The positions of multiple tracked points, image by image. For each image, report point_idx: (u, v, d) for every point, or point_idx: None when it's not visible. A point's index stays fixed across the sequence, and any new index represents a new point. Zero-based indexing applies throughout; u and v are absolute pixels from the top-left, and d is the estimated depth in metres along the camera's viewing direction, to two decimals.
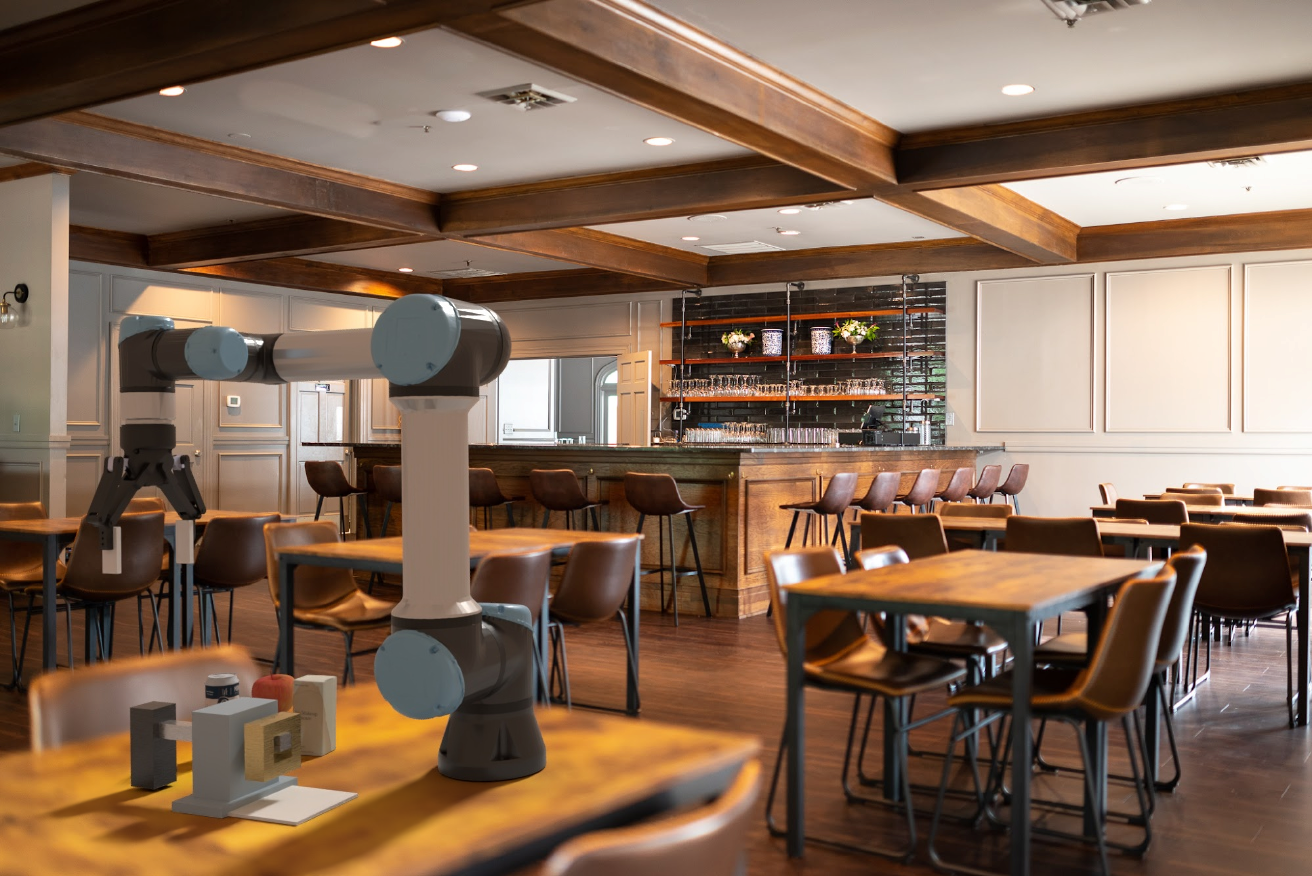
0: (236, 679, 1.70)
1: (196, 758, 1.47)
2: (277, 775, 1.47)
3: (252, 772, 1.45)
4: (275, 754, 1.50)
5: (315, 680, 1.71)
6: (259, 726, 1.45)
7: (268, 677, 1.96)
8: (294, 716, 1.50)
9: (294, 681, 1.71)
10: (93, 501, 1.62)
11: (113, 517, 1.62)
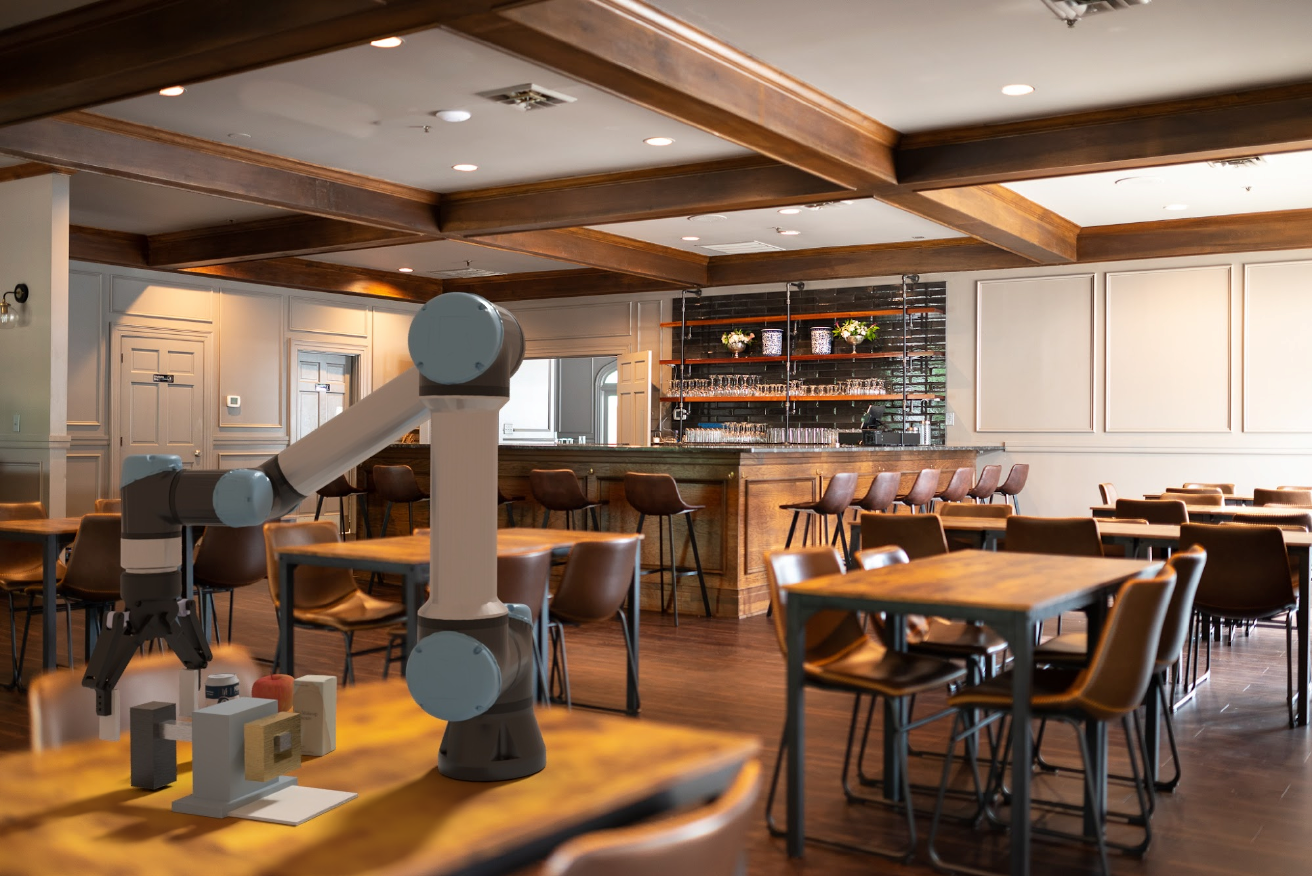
0: (236, 679, 1.70)
1: (196, 758, 1.47)
2: (277, 775, 1.47)
3: (252, 772, 1.45)
4: (275, 754, 1.50)
5: (315, 680, 1.71)
6: (259, 726, 1.45)
7: (268, 677, 1.96)
8: (294, 716, 1.50)
9: (294, 681, 1.71)
10: (90, 663, 1.48)
11: (112, 680, 1.48)
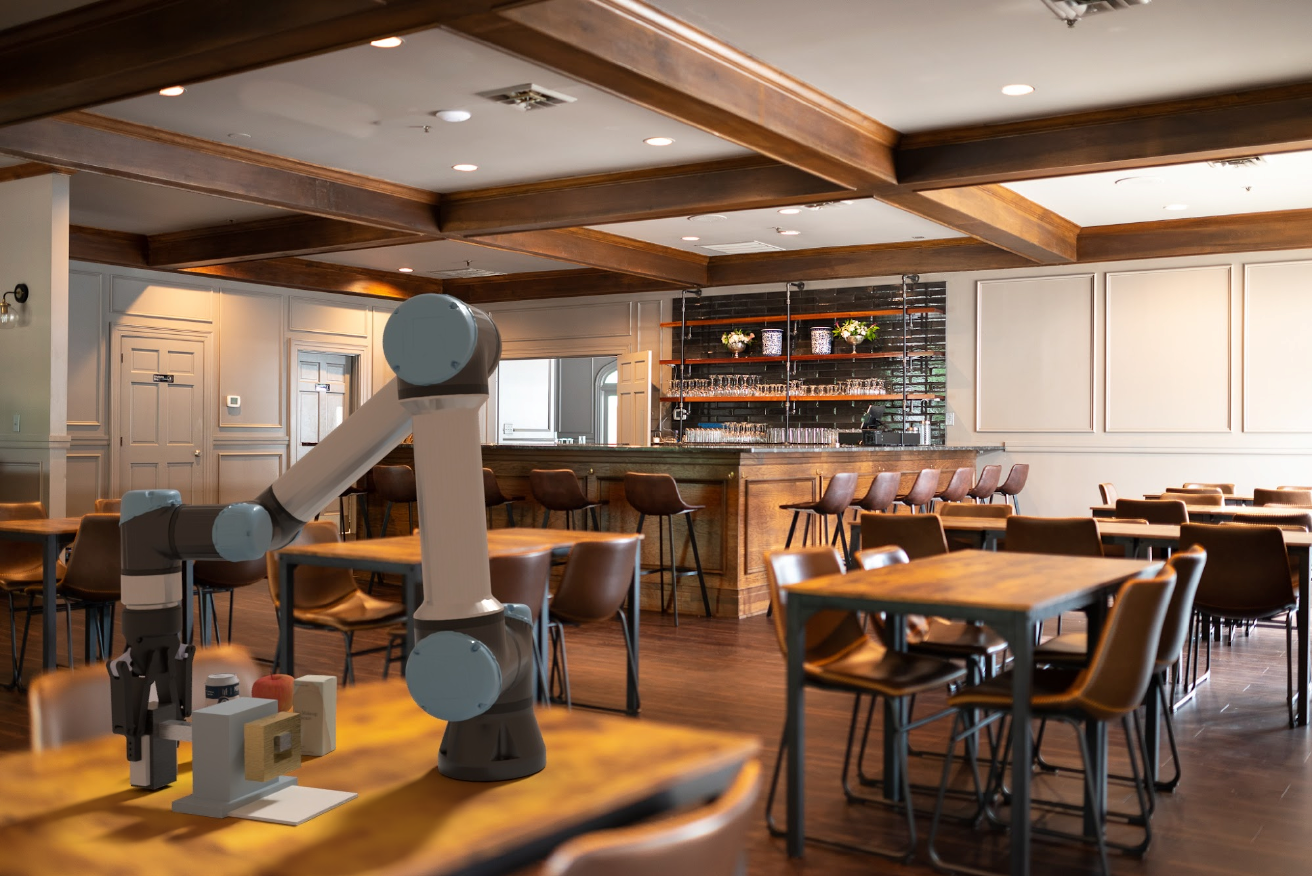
0: (236, 679, 1.70)
1: (196, 758, 1.47)
2: (277, 775, 1.47)
3: (252, 772, 1.45)
4: (275, 754, 1.50)
5: (315, 680, 1.71)
6: (259, 726, 1.45)
7: (268, 677, 1.96)
8: (294, 716, 1.50)
9: (294, 681, 1.71)
10: (113, 712, 1.51)
11: (139, 727, 1.52)
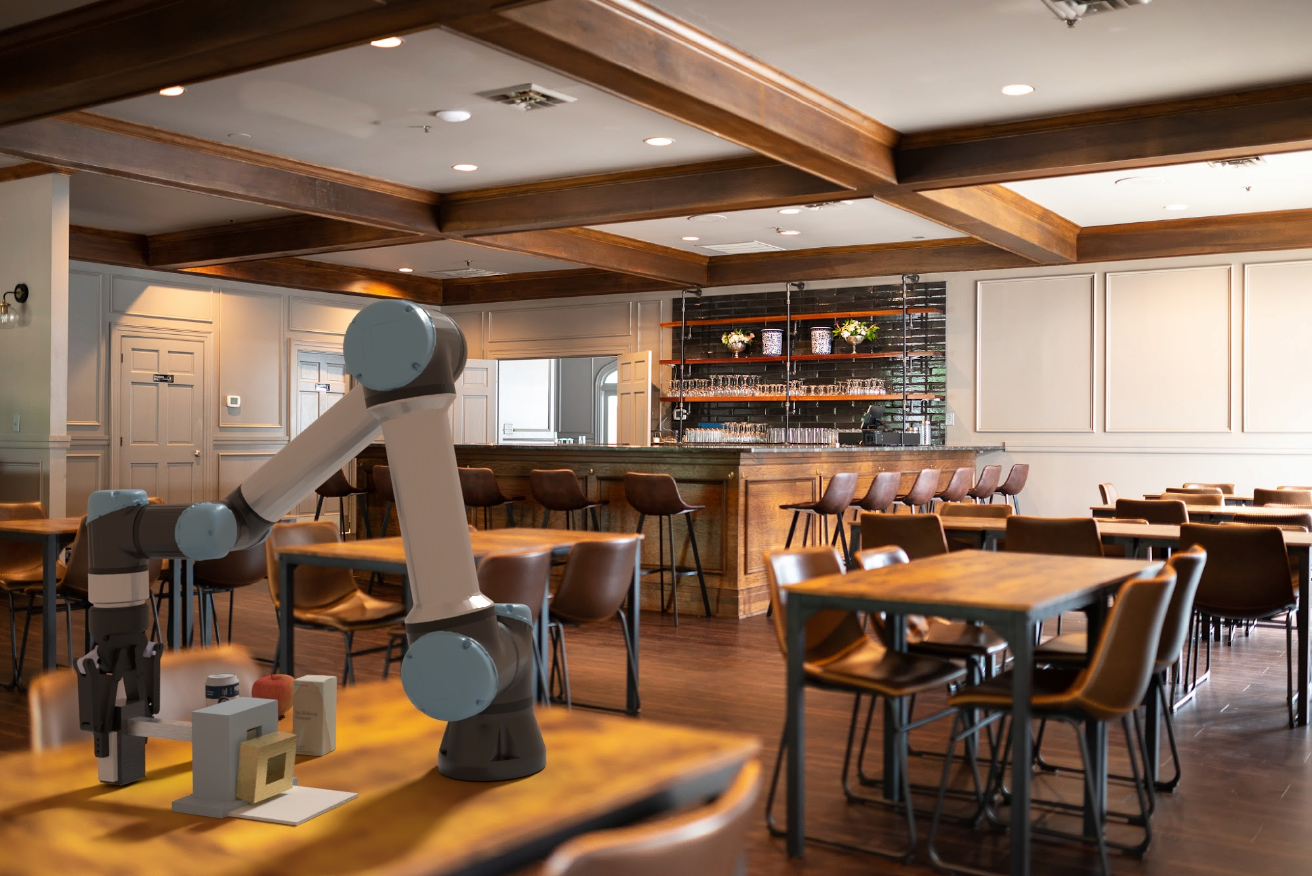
0: (236, 679, 1.70)
1: (196, 758, 1.47)
2: (267, 796, 1.47)
3: (243, 791, 1.45)
4: (267, 772, 1.51)
5: (315, 680, 1.71)
6: (255, 747, 1.45)
7: (268, 677, 1.96)
8: (290, 738, 1.50)
9: (294, 681, 1.71)
10: (80, 709, 1.53)
11: (107, 723, 1.54)
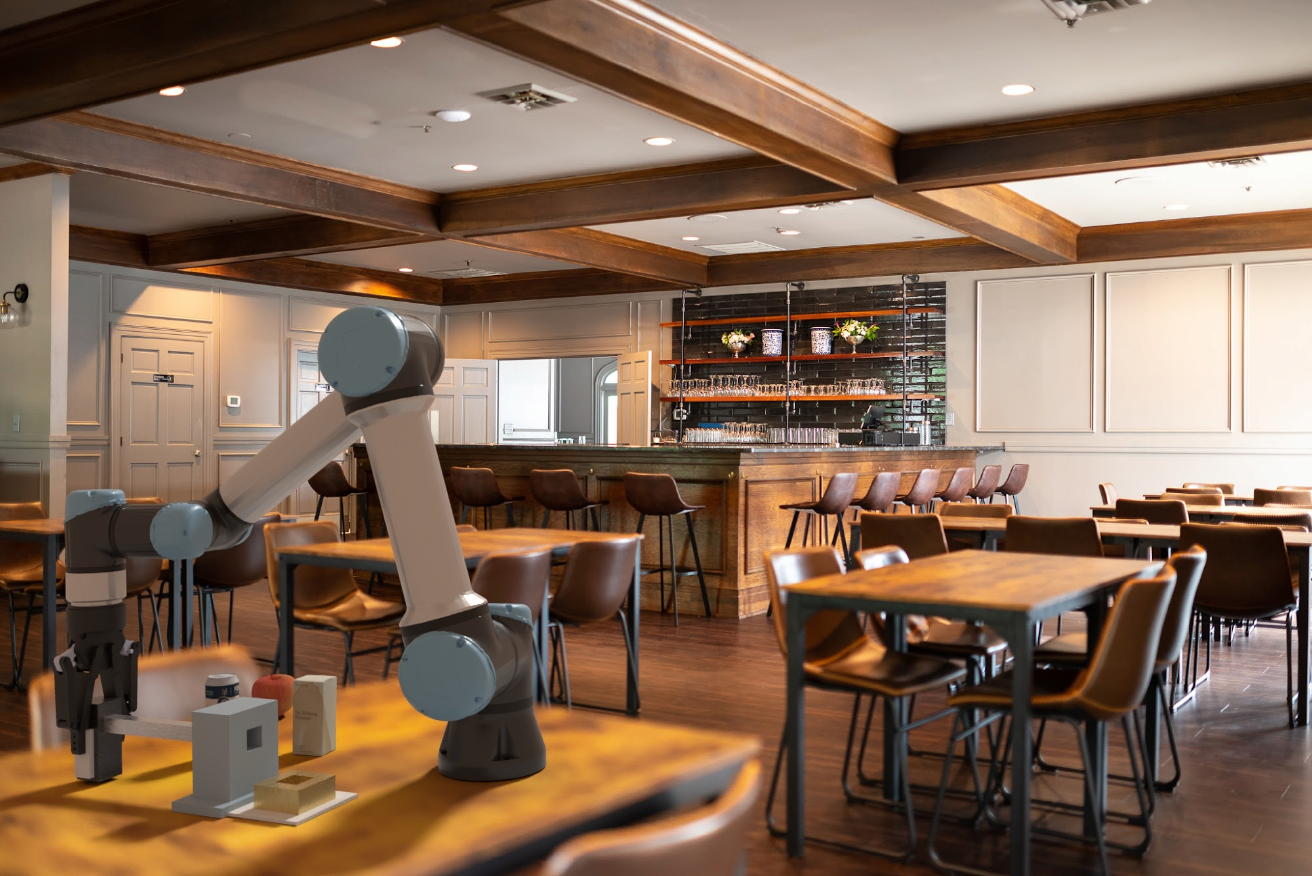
0: (236, 679, 1.70)
1: (196, 758, 1.47)
2: None
3: (260, 795, 1.44)
4: (294, 777, 1.49)
5: (315, 680, 1.71)
6: (297, 810, 1.42)
7: (268, 677, 1.96)
8: (328, 801, 1.47)
9: (294, 681, 1.71)
10: (57, 707, 1.54)
11: (83, 721, 1.56)
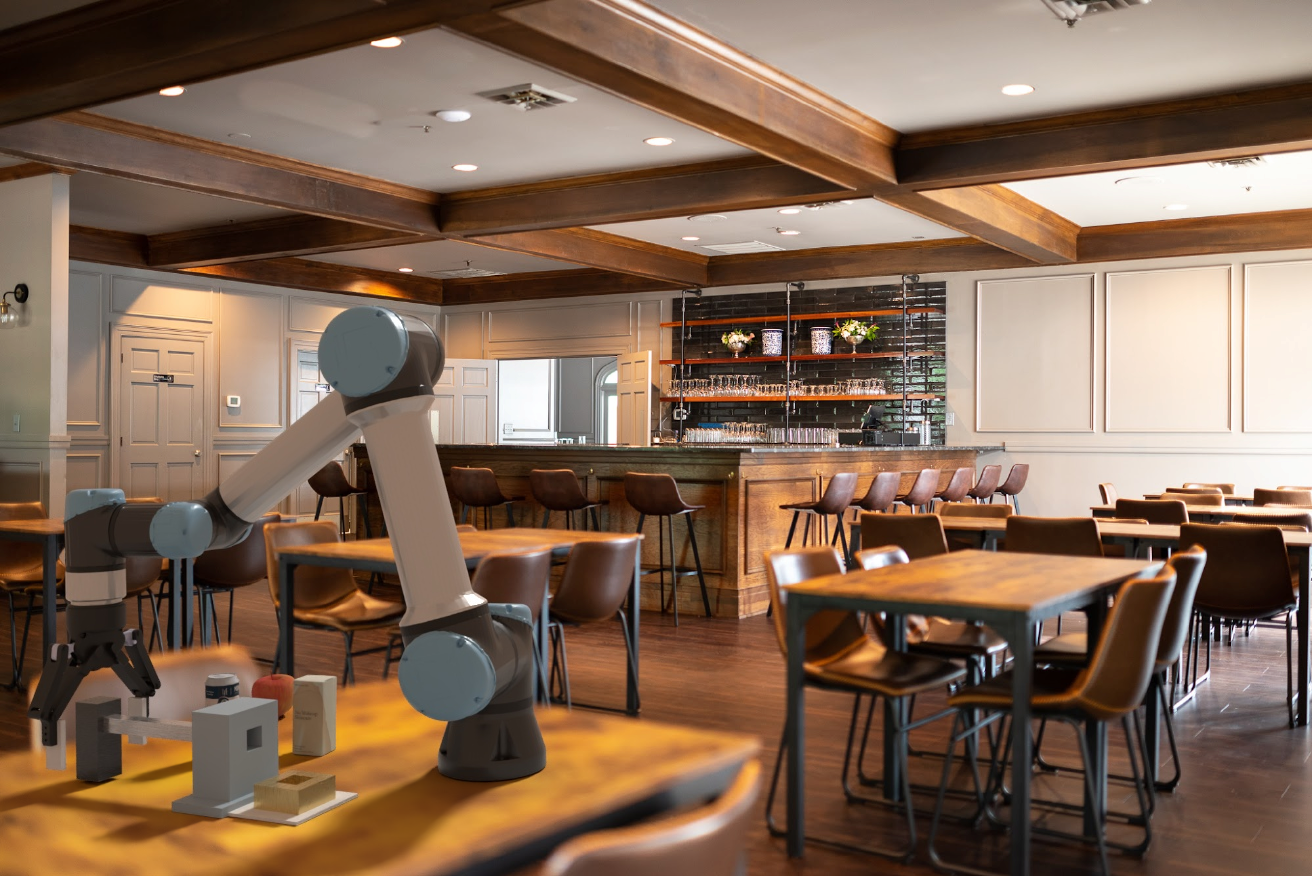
0: (236, 679, 1.70)
1: (196, 758, 1.47)
2: None
3: (260, 795, 1.44)
4: (294, 777, 1.49)
5: (315, 680, 1.71)
6: (297, 810, 1.42)
7: (268, 677, 1.96)
8: (328, 801, 1.47)
9: (294, 681, 1.71)
10: (35, 694, 1.51)
11: (57, 711, 1.52)
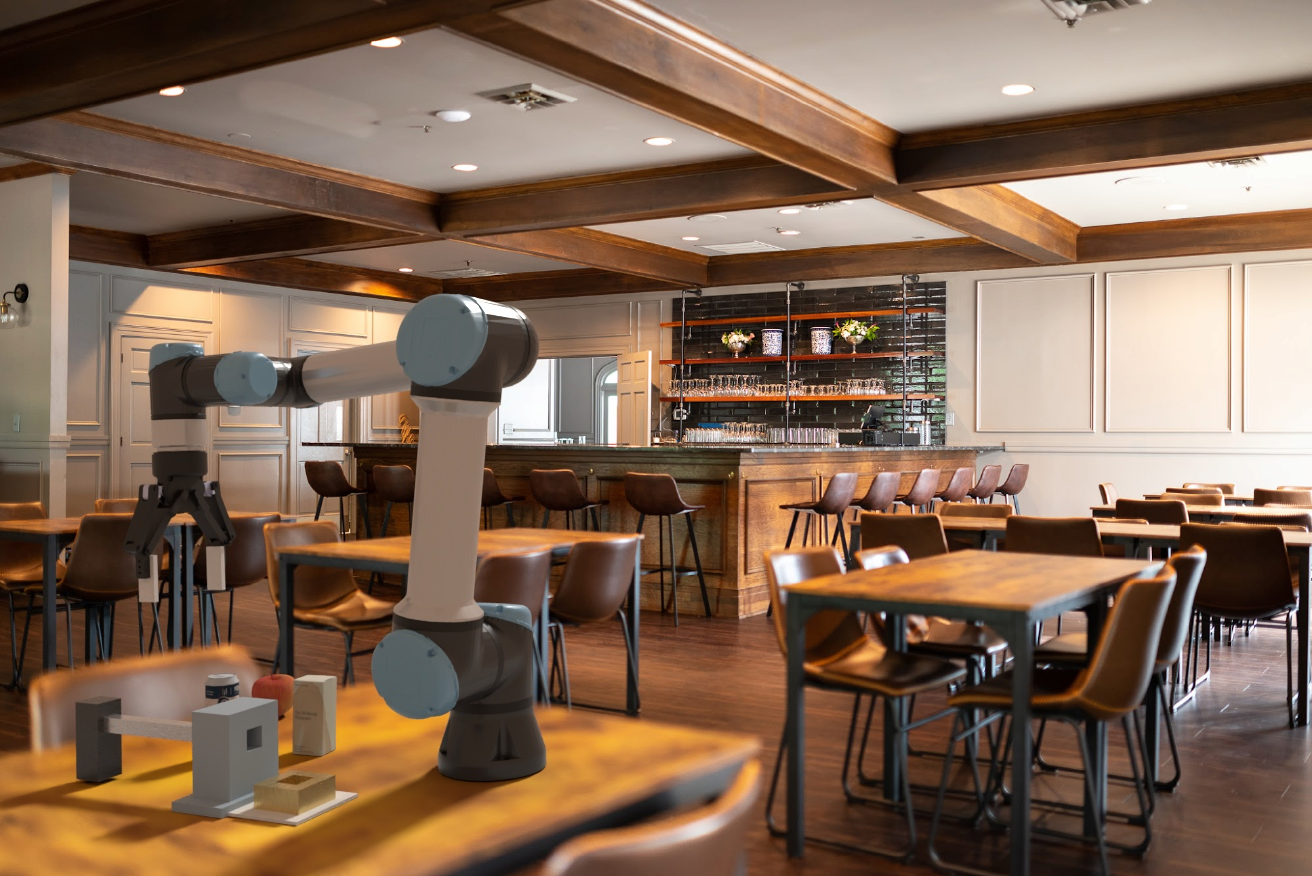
0: (236, 679, 1.70)
1: (196, 758, 1.47)
2: None
3: (260, 795, 1.44)
4: (294, 777, 1.49)
5: (315, 680, 1.71)
6: (297, 810, 1.42)
7: (268, 677, 1.96)
8: (328, 801, 1.47)
9: (294, 681, 1.71)
10: (129, 530, 1.61)
11: (150, 545, 1.62)
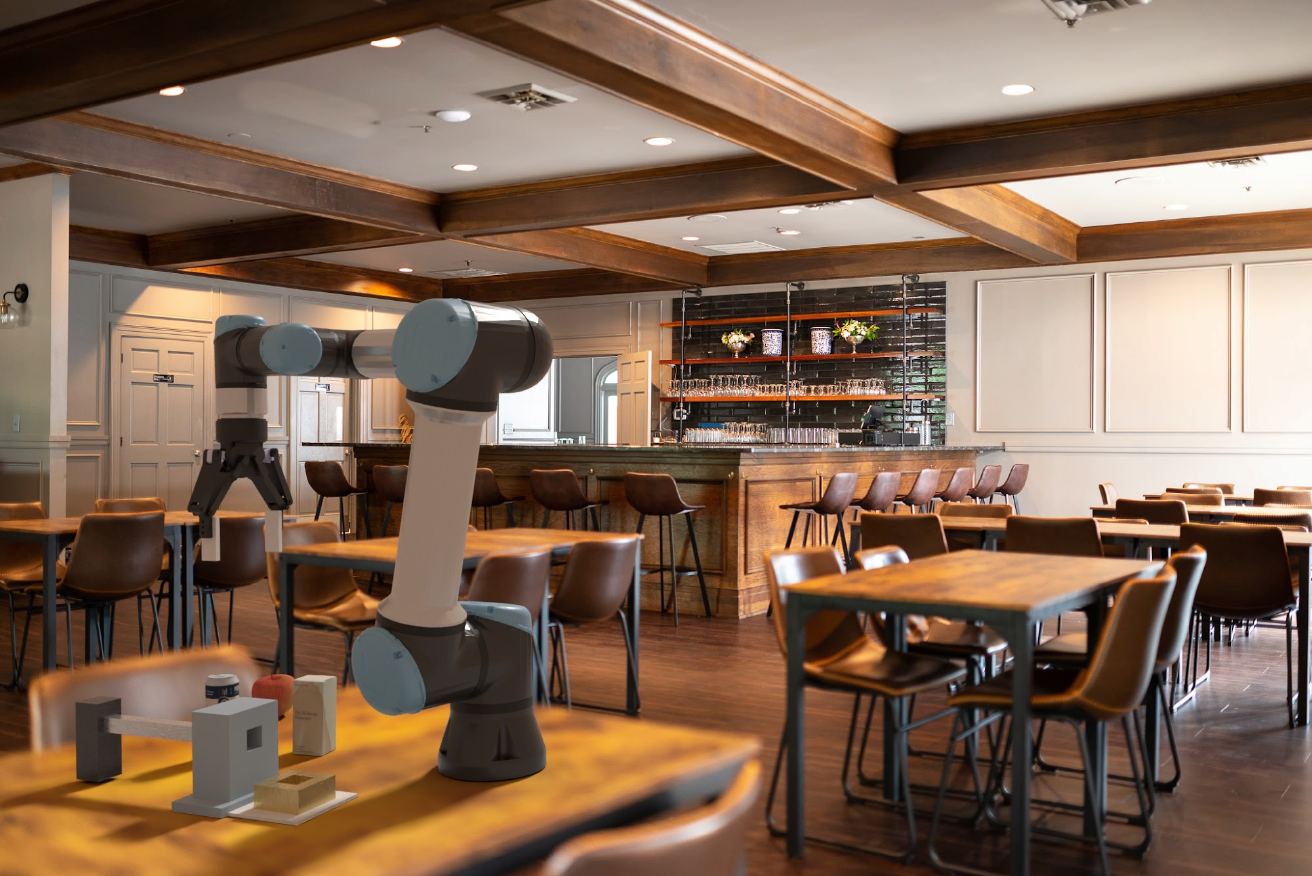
0: (236, 679, 1.70)
1: (196, 758, 1.47)
2: None
3: (260, 795, 1.44)
4: (294, 777, 1.49)
5: (315, 680, 1.71)
6: (297, 810, 1.42)
7: (268, 677, 1.96)
8: (328, 801, 1.47)
9: (294, 681, 1.71)
10: (194, 492, 1.70)
11: (213, 507, 1.70)
